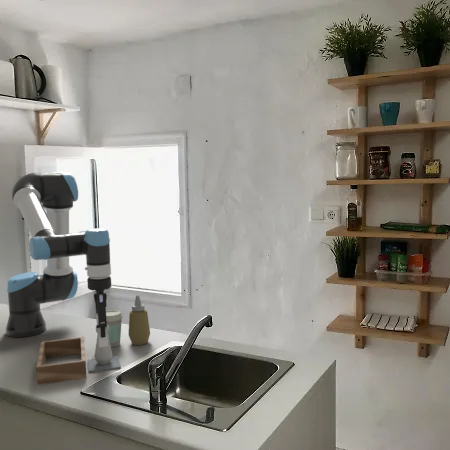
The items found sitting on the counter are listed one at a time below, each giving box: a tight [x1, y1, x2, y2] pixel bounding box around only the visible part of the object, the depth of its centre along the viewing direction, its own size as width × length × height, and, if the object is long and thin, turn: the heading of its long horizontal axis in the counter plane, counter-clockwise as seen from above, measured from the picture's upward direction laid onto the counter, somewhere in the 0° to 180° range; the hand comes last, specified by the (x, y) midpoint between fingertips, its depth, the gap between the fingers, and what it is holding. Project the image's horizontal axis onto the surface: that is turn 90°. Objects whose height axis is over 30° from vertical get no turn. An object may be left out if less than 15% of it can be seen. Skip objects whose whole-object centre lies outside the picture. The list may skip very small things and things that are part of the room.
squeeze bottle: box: [128, 294, 151, 346], centre depth 186 cm, size 8×8×18 cm
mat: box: [87, 355, 121, 373], centre depth 166 cm, size 10×10×1 cm
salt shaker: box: [94, 325, 113, 365], centre depth 166 cm, size 6×6×13 cm
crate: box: [35, 336, 88, 385], centre depth 165 cm, size 24×14×6 cm, turn 17°
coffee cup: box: [106, 309, 123, 348], centre depth 185 cm, size 8×8×12 cm
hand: (102, 339), depth 166 cm, fingers open, 13 cm apart
